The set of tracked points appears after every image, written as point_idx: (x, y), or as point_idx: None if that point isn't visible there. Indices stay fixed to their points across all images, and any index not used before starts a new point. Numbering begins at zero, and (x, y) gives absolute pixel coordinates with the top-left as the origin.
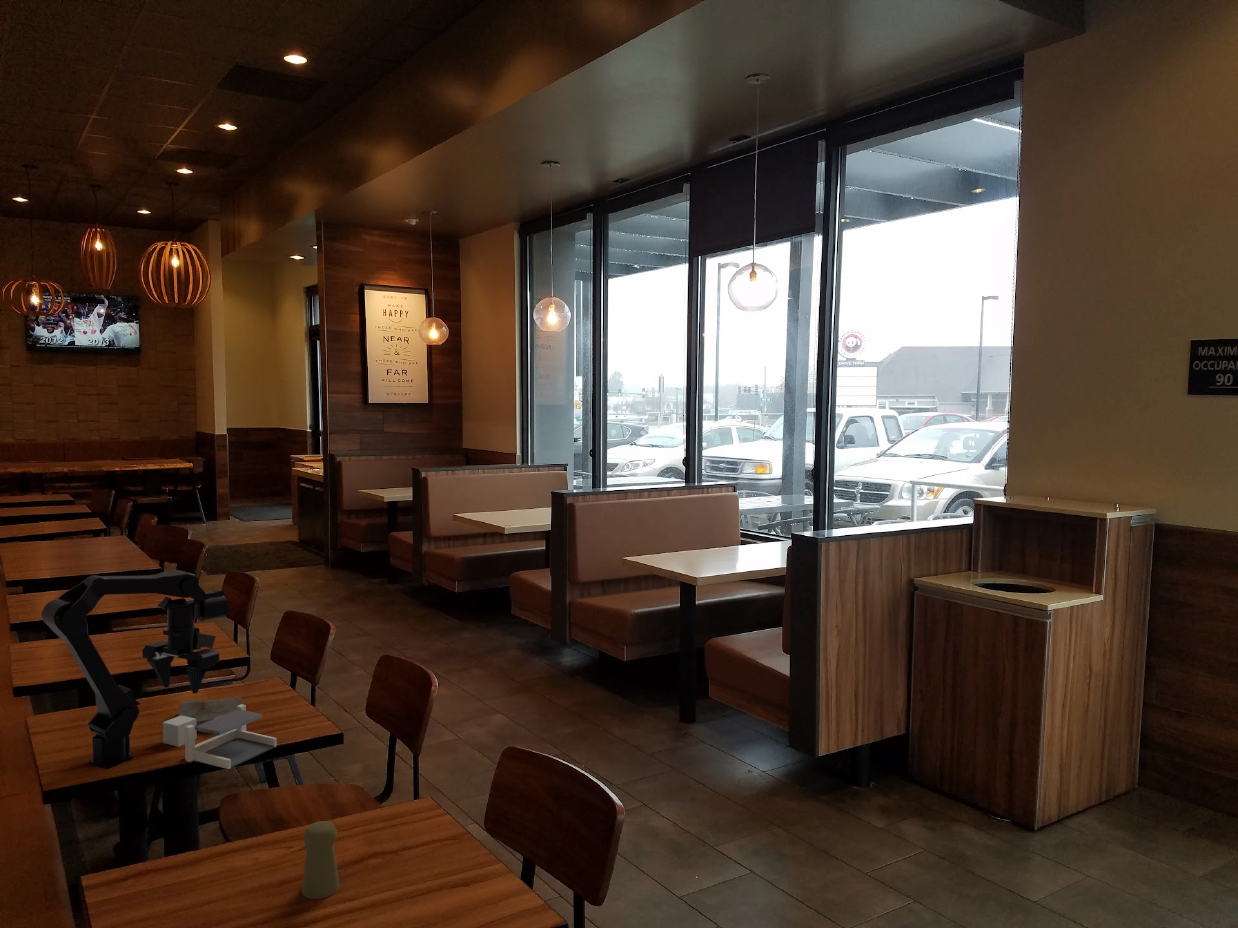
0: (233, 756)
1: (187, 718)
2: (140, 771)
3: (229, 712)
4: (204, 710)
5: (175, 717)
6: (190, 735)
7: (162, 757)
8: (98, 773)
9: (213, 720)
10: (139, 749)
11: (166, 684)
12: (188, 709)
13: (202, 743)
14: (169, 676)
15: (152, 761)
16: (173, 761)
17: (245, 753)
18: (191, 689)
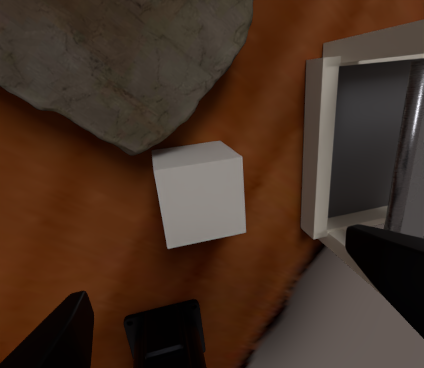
0: None
1: (209, 174)
2: (273, 310)
3: (421, 116)
4: (85, 1)
5: (158, 196)
6: None
7: (251, 256)
8: (209, 362)
9: (414, 202)
10: (155, 270)
11: (89, 325)
12: (4, 39)
13: (323, 192)
14: (57, 356)
15: (251, 278)
16: (291, 251)
17: None
18: (365, 275)
